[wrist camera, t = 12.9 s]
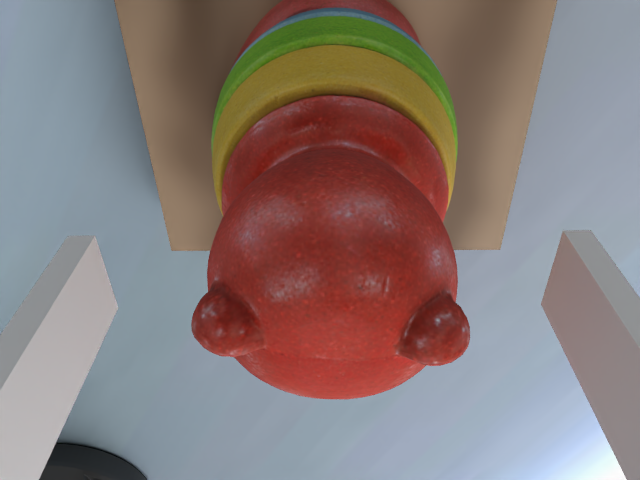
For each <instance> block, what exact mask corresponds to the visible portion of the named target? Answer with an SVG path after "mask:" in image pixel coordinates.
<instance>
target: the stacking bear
mask: <svg viewBox="0 0 640 480" xmlns="http://www.w3.org/2000/svg"><path fill="white" fill-rule="evenodd" d="M457 149H458V138H457V124H456V116H455V111H454V106H453V102H452V98H451V95H450V92H449V89H448V87H447V85H446V83H445V81H444V79H443V77H442V75H441V73H440V71H439V69H438V68H437V66H436V65H435V63H434V61H433V60H432V58H431V57H430V56H429V55H428V53H427V52H426V51H425V50H424V49H423V48H422V46H421V44H420V41H419V39H418V36H417V34H416V32H415V31H414V29H413V27H412V25H411V24H410V23H409V21H408V20H407V19H406V18H405V16H404V15H403V14H402V13H401V12H400V11H399V10H398V9H397V8H396V7H394V6H393V5H392V4H391V3H389V2H388V1H386V0H282V1H281V2H280V3H278V4H277V5H276V6H274V7H273V8H272V9H271V10H270V11H269V12H268V13H267V14H266V15H265V16H264V17H263V18H262V19H261V20H260V22H259V23H258V24H257V26H256V27H255V28H254V30H253V31H252V32H251V34H250V35H249V37H248V38H247V40H246V41H245V43H244V45H243V46H242V48H241V50H240V52H239V54H238V56H237V58H236V59H235V62H234V64H233V67H232V69H231V71H230V73H229V75H228V77H227V79H226V81H225V83H224V85H223V87H222V90H221V92H220V95H219V99H218V102H217V106H216V109H215V114H214V120H213V127H212V138H211V150H212V170H213V181H214V188H215V193H216V197H217V202H218V205H219V208H220V211H221V213H222V215H223V218H222V220H221V223H220V225H219V227H218V230H217V232H216V235H215V237H214V240H213V243H212V247H211V251H210V255H209V260H208V271H207V279H208V293H206V294H205V295H204V296H203V297H202V298H201V300H200V301H199V303H198V305H197V307H196V309H195V311H194V313H193V317H192V324H191V325H192V332H193V335H194V337H195V338H196V340H197V341H198V342H199V343H200V344H201V345H202V346H203V347H204V348H205V349H207V350H208V351H210V352H212V353H214V354H217V355H219V356H231V357H235V359H236V360H237V361H238V362H239V363H240V364H241V365H242V366H243V367H245V368H246V369H247V370H248V371H249V372H250V373H252V374H253V375H254V376H256V377H257V378H259V379H260V380H262V381H264V382H266V383H268V384H270V385H271V386H274V387H276V388H278V389H280V390H283V391H286V392H289V393H292V394H296V395H299V396H305V397H311V398H319V399H353V398H360V397H366V396H371V395H375V394H378V393H381V392H384V391H387V390H389V389H392V388H394V387H396V386H398V385H400V384H402V383H403V382H405V381H407V380H408V379H410V378H411V377H413V376H414V375H415V374H417V373H418V372H419V371H421V370H422V369H423V368H424V367H425V366H426V365H429V366H440V365H444V364H447V363H451V362H453V361H454V360H456V359H457V358H459V357H460V356H461V355H463V353H464V352H465V350H466V349H467V347H468V344H469V340H470V326H469V323H468V320H467V317H466V316H465V314H464V312H463V311H462V309H461V307H460V306H459V305H457V304H456V295H457V284H458V278H457V265H456V259H455V253H454V250H453V247H452V244H451V241H450V238H449V235H448V233H447V230H446V228H445V226H444V224H443V221H444V218H445V214H446V211H447V209H448V206H449V203H450V199H451V195H452V191H453V186H454V178H455V170H456V160H457Z"/></svg>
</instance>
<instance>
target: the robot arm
mask: <svg viewBox="0 0 640 480" xmlns="http://www.w3.org/2000/svg"><path fill="white" fill-rule="evenodd" d="M541 305H542V307H543V309H544V311H545V313H546V315H547V318H548V320H549V322H550V324H551V326H552V328H553V330H554V332H555V334H556V336H557V338H558V340H559V342H560V344H561V346H562V348H563V350H564V352H565V354H566V356H567V358H568V360H569V362H570V365H571V367H572V369H573V371H574V373H575V375H576V377H577V379H578V381H579V383H580V385H581V387H582V389H583V391H584V393H585V395H586V397H587V399H588V401H589V403H590V405H591V407H592V409H593V411H594V414H595V416H596V418H597V420H598V422H599V424H600V426H601V428H602V430H603V432H604V434H605V436H606V438H607V440H608V442H609V444H610V446H611V448H612V450H613V452H614V454H615V456H616V458H617V461H618V463H619V465H620V467H621V469H622V471H623V473H624V475H625V477H626V479H627V480H640V298H639V296H638V295H637V293H636V292H635V291H634V289H633V288H632V286H631V285H630V284H629V282H628V281H627V280H626V278H625V277H624V275H623V274H622V273H621V271H620V270H619V268H618V267H617V266H616V264H615V263H614V262H613V260H612V259H611V257H610V256H609V255H608V253H607V252H606V251H605V249H604V248H603V246H602V245H601V244H600V242H599V241H598V239H597V238H596V237H595V235H594V234H593V233H592V231H591V230H573V231H563V233H562V236H561V240H560V243H559V246H558V249H557V253H556V256H555V259H554V263H553V266H552V269H551V273H550V276H549V279H548V283H547V286H546V289H545V293H544V296H543V299H542V303H541ZM117 310H118V306H117V302H116V299H115V296H114V293H113V290H112V287H111V284H110V281H109V278H108V274H107V271H106V268H105V265H104V262H103V259H102V256H101V253H100V250H99V246H98V243H97V240H96V237H95V236H68V237H67V238H66V240H65V241H64V243H63V244H62V246H61V247H60V248H59V250H58V251H57V253H56V254H55V256H54V257H53V259H52V260H51V262H50V263H49V265H48V266H47V267H46V269H45V270H44V272H43V273H42V275H41V276H40V278H39V279H38V281H37V282H36V284H35V285H34V286H33V288H32V289H31V291H30V292H29V294H28V295H27V297H26V298H25V300H24V301H23V303H22V304H21V305H20V307H19V308H18V310H17V311H16V313H15V314H14V316H13V317H12V319H11V320H10V322H9V323H8V324H7V326H6V327H5V329H4V330H3V332H2V333H1V335H0V480H147V479H146V478H145V477H144V476H143V475H142V474H141V473H140V472H139V471H138V470H137V469H136V468H134V467H133V466H132V465H130V464H129V463H127V462H125V461H123V460H122V459H120V458H118V457H115V456H113V455H111V454H108V453H105V452H102V451H99V450H96V449H92V448H88V447H83V446H77V445H68V444H56V442H57V440H58V437H59V435H60V433H61V431H62V429H63V427H64V424H65V422H66V420H67V418H68V416H69V414H70V411H71V409H72V407H73V405H74V403H75V401H76V398H77V396H78V394H79V392H80V390H81V388H82V385H83V383H84V381H85V379H86V377H87V375H88V372H89V370H90V368H91V366H92V364H93V362H94V359H95V357H96V355H97V353H98V351H99V349H100V346H101V344H102V342H103V340H104V338H105V336H106V333H107V331H108V329H109V327H110V325H111V323H112V320H113V318H114V316H115V314H116V312H117Z"/></svg>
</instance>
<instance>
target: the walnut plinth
mask: <svg viewBox="0 0 640 480" xmlns="http://www.w3.org/2000/svg"><path fill="white" fill-rule="evenodd" d="M114 1H115V6H116V10H117V14H118V19H119V23H120V28H121V32H122V36H123V41H124V45H125V49H126V54H127V58H128V62H129V67H130V71H131V76H132V80H133V84H134V89H135V93H136V97H137V102H138V106H139V110H140V115H141V119H142V124H143V128H144V132H145V137H146V141H147V145H148V150H149V154H150V158H151V163H152V167H153V172H154V176H155V180H156V185H157V189H158V193H159V198H160V202H161V207H162V211H163V215H164V220H165V224H166V228H167V233H168V237H169V241H170V246H171V250H172V251H211V247H212V243H213V240H214V237H215V235H216V232H217V230H218V227H219V225H220V223H221V220H222V218H223V215H222V213H221V211H220V208H219V205H218V202H217V197H216V193H215V188H214V181H213V170H212V150H211V138H212V127H213V120H214V114H215V109H216V106H217V102H218V99H219V95H220V92H221V90H222V87H223V85H224V83H225V81H226V79H227V77H228V75H229V73H230V71H231V69H232V67H233V64H234V62H235V59H236V58H237V56H238V54H239V52H240V50H241V48H242V46H243V45H244V43H245V41H246V40H247V38H248V37H249V35H250V34H251V32H252V31H253V30H254V28H255V27H256V26H257V24H258V23H259V22H260V20H261V19H262V18H263V17H264V16H265V15H266V14H267V13H268V12H269V11H270V10H271V9H272V8H273V7H274V6H276V5H277V4H278V3H280V2H281V1H282V0H114ZM386 1H388V2H389V3H391V4H392V5H393V6H394V7H396V8H397V9H398V10H399V11H400V12H401V13H402V14H403V15H404V16H405V18H406V19H407V20H408V21H409V23H410V24H411V25H412V27H413V29H414V31H415V32H416V34H417V36H418V39H419V41H420V44H421V46H422V48H423V49H424V50H425V51H426V52H427V53H428V55H429V56H430V57H431V58H432V60H433V61H434V63H435V65H436V66H437V68H438V69H439V71H440V73H441V75H442V77H443V79H444V81H445V83H446V85H447V87H448V89H449V92H450V95H451V98H452V102H453V106H454V111H455V116H456V124H457V138H458V149H457V160H456V170H455V178H454V186H453V191H452V195H451V199H450V203H449V206H448V209H447V211H446V214H445V218H444V221H443V224H444V226H445V228H446V230H447V233H448V235H449V238H450V241H451V244H452V247H453V250H500V248H501V244H502V239H503V235H504V231H505V226H506V222H507V218H508V213H509V209H510V204H511V200H512V196H513V191H514V187H515V183H516V178H517V174H518V169H519V165H520V161H521V156H522V152H523V148H524V143H525V139H526V134H527V130H528V126H529V121H530V117H531V113H532V108H533V104H534V99H535V95H536V91H537V86H538V82H539V78H540V73H541V69H542V64H543V60H544V56H545V51H546V47H547V42H548V38H549V34H550V29H551V25H552V21H553V16H554V12H555V7H556V3H557V0H386Z"/></svg>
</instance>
